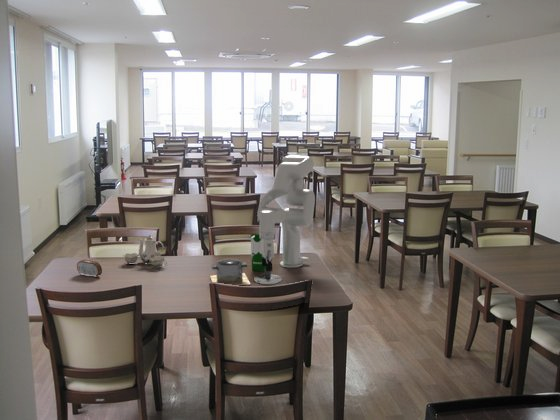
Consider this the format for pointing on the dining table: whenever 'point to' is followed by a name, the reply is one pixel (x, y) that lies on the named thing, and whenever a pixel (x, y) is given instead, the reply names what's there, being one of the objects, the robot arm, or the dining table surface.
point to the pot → (230, 272)
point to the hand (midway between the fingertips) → (267, 268)
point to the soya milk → (256, 253)
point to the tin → (89, 267)
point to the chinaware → (147, 253)
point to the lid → (268, 278)
